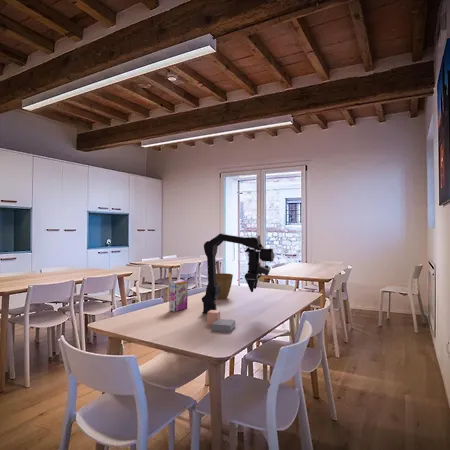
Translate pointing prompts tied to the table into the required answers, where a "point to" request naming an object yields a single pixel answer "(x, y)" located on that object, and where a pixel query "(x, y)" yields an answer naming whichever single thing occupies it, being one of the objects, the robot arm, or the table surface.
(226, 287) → the plant pot
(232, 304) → the table surface
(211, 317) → the cube
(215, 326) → the plinth
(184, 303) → the candy bar box
